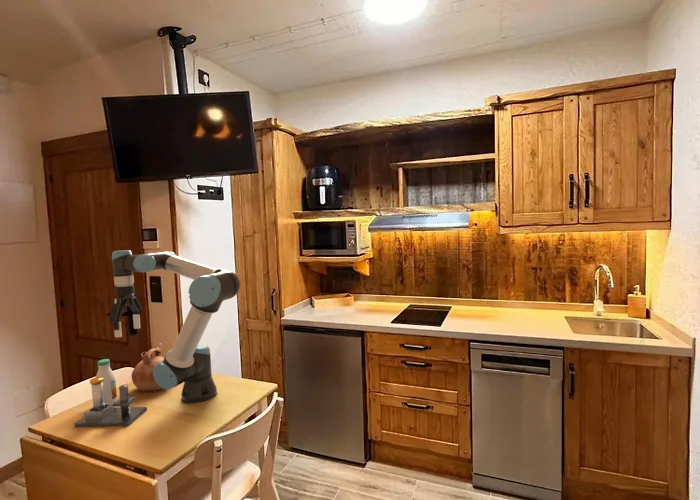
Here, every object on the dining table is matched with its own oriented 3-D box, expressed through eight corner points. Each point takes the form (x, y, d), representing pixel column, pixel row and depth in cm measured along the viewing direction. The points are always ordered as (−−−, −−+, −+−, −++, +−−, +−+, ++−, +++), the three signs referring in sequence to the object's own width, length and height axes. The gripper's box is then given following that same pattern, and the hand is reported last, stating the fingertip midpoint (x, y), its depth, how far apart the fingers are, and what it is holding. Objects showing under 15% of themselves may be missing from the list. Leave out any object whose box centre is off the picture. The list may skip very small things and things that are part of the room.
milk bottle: (107, 408, 169) (103, 363, 167) (92, 407, 170) (88, 363, 169) (121, 400, 176) (117, 357, 175) (106, 399, 178) (103, 357, 176)
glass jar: (109, 412, 162) (106, 376, 161) (101, 417, 157) (98, 381, 156) (98, 412, 162) (95, 376, 161) (90, 418, 158) (86, 381, 157)
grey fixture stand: (146, 410, 166) (144, 379, 165) (128, 426, 153) (125, 392, 152) (97, 411, 167) (94, 380, 166) (74, 427, 154) (71, 393, 153)
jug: (149, 379, 200) (146, 341, 199) (182, 380, 197) (179, 341, 196) (124, 395, 182) (120, 353, 180) (159, 396, 179) (156, 354, 178)
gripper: (133, 281, 184) (136, 325, 185) (96, 290, 159) (100, 341, 160) (148, 280, 183) (151, 324, 185) (114, 289, 159) (118, 340, 160)
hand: (128, 332), depth 173 cm, fingers open, 13 cm apart
